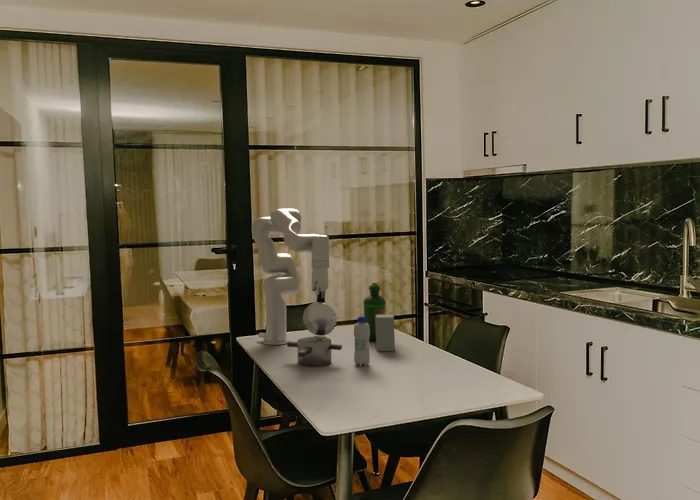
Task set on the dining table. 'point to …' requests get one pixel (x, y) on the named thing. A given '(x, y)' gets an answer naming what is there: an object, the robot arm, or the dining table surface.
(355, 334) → the bottle
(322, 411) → the dining table surface
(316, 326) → the lid
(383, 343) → the skincare box
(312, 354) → the cooker
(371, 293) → the bottle
